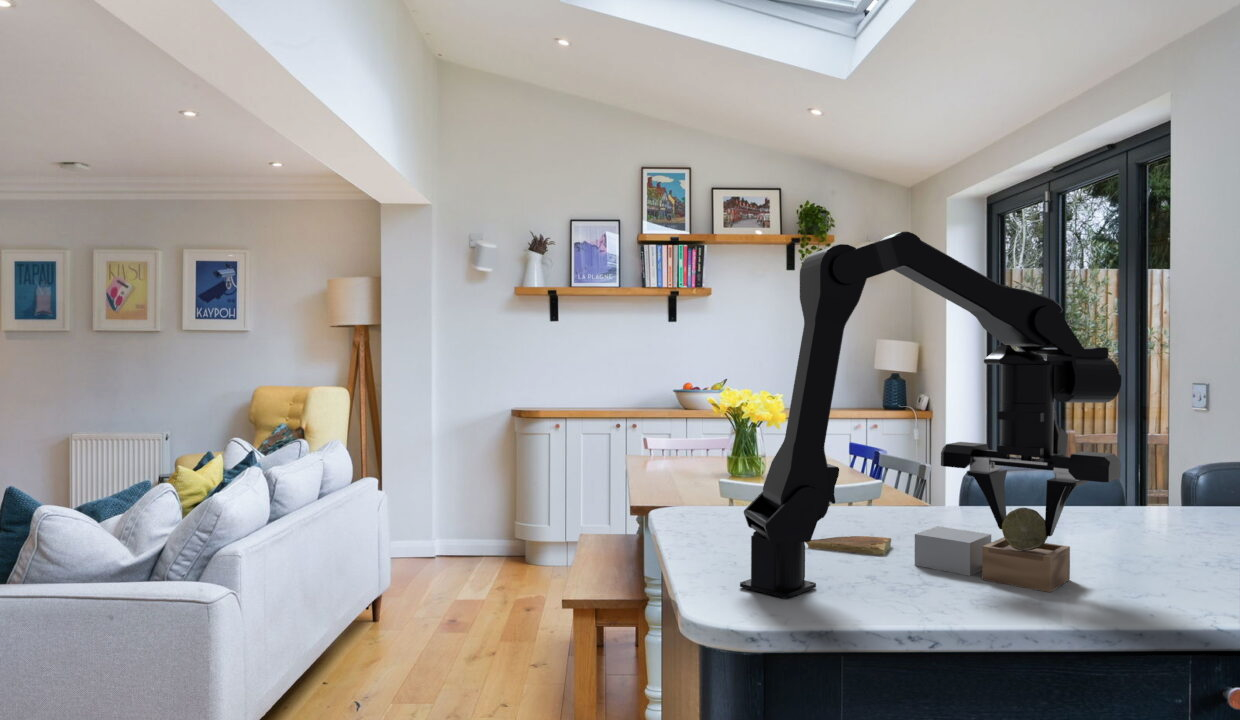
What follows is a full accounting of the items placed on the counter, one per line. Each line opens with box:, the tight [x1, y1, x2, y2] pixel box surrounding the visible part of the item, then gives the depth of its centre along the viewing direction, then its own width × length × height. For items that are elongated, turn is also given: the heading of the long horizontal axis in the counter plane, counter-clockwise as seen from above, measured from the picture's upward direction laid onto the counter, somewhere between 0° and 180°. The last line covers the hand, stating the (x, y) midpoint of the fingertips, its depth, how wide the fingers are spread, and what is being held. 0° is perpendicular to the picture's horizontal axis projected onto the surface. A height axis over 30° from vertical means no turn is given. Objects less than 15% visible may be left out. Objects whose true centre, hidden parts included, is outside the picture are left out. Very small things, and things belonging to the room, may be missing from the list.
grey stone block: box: [914, 526, 992, 576], centre depth 104 cm, size 7×7×4 cm
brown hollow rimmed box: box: [981, 536, 1071, 593], centre depth 98 cm, size 8×8×4 cm
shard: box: [805, 535, 892, 557], centre depth 115 cm, size 11×8×2 cm
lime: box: [1001, 507, 1049, 550], centre depth 98 cm, size 4×5×5 cm
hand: (1025, 532), depth 98 cm, fingers closed on lime, 5 cm apart
